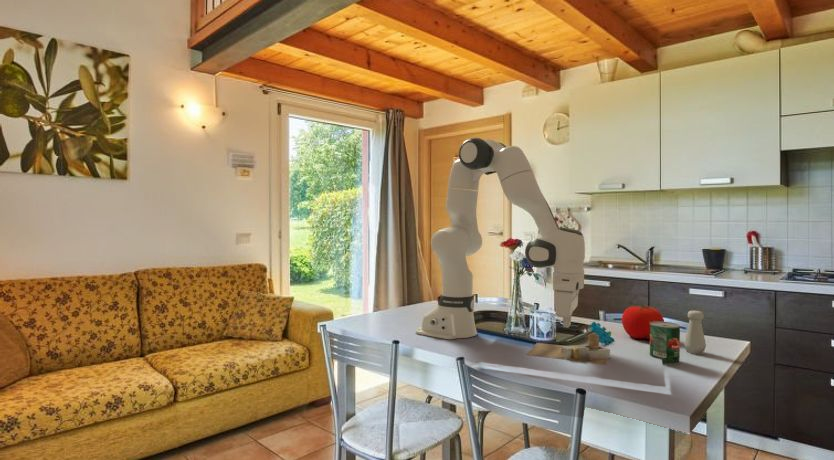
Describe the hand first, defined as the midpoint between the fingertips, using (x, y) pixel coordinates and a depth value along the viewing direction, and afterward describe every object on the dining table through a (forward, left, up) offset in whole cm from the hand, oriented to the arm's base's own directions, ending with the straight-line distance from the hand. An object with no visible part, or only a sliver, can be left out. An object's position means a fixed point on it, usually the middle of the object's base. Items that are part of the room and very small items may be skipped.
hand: (566, 326), depth 144 cm
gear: (+9, +17, -9) cm, 22 cm away
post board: (+1, -2, -9) cm, 9 cm away
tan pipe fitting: (+5, -4, -8) cm, 10 cm away
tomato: (+21, +34, -9) cm, 41 cm away
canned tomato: (+27, +7, -9) cm, 29 cm away
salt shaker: (+36, +21, -9) cm, 43 cm away
